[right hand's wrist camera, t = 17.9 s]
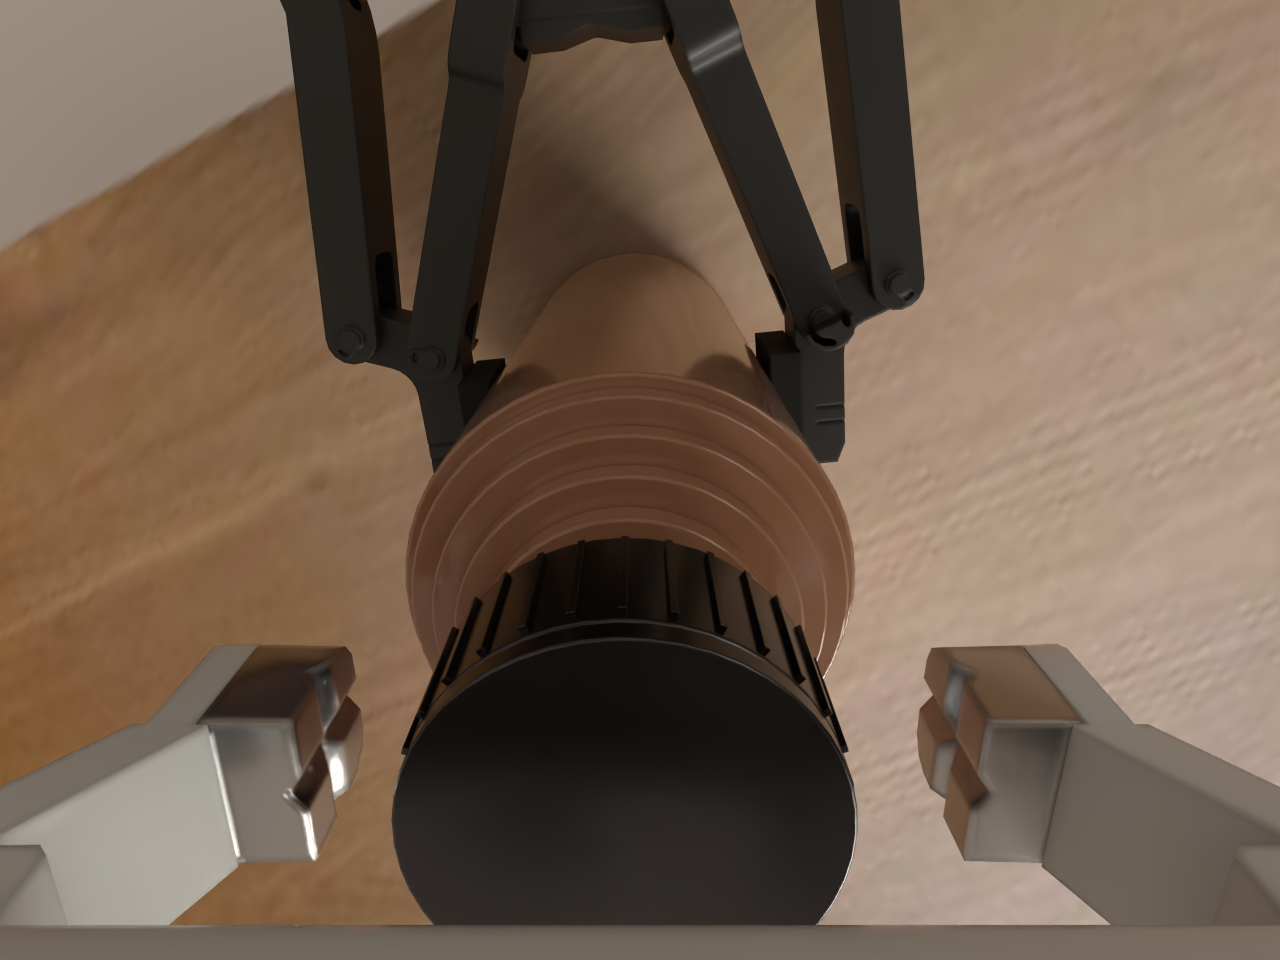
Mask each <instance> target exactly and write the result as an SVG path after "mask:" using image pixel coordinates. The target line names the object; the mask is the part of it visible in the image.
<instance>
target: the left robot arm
mask: <svg viewBox="0 0 1280 960" xmlns="http://www.w3.org/2000/svg"><path fill="white" fill-rule="evenodd" d="M280 1H281V3H282V6H283V8H284V10H285V12H286V17H287V25H288V33H289V42H290V50H291V58H292V66H293V75H294V83H295V91H296V99H297V107H298V115H299V124H300V132H301V140H302V148H303V156H304V165H305V173H306V181H307V189H308V197H309V206H310V214H311V222H312V230H313V238H314V246H315V255H316V263H317V271H318V279H319V287H320V296H321V304H322V312H323V320H324V328H325V337H326V341H327V345H328V348H329V350H330V351H331V352H332V353H333V355H334V356H335V357H336V358H338V359H339V360H341V361H342V362H344V363H349V364H359V363H363V362H368V363H372V364H376V365H380V366H385V367H389V368H392V369H395V370H398V371H400V372H402V373H403V374H405V375H406V376H407V377H408V378H409V379H410V380H411V381H412V382H413V384H414V385H415V387H416V389H417V392H418V395H419V400H420V405H421V410H422V415H423V420H424V425H425V430H426V435H427V440H428V444H429V450H430V455H431V459H432V465H433V470H434V473H435V472H436V470H437V469H438V467H439V466H440V464H441V463H442V461H443V460H444V458H445V457H446V455H447V454H448V452H449V451H450V449H451V448H452V446H453V445H454V443H455V442H456V440H457V439H458V437H459V436H460V434H461V433H462V431H463V430H464V428H465V427H466V425H467V424H468V422H469V420H470V419H471V417H472V416H473V414H474V413H475V411H476V410H477V408H478V407H479V405H480V404H481V402H482V401H483V399H484V398H485V396H486V395H487V393H488V392H489V390H490V389H491V387H492V386H493V384H494V383H495V381H496V380H497V378H498V377H499V375H500V374H501V372H502V371H503V369H504V368H505V366H506V364H505V358H501V359H491V360H480V361H477V362H476V363H475V364H474V362H473V356H472V350H473V349H474V348H475V347H476V345H477V342H478V340H479V339H475V335H476V330H477V325H478V319H479V314H480V309H481V303H482V298H483V293H484V287H485V282H486V277H487V271H488V266H489V261H490V255H491V250H492V245H493V239H494V234H495V229H496V223H497V218H498V213H499V207H500V202H501V197H502V191H503V186H504V181H505V175H506V170H507V165H508V159H509V154H510V149H511V143H512V138H513V133H514V127H515V122H516V117H517V111H518V106H519V102H520V99H521V96H522V94H523V91H524V88H525V84H526V79H527V74H528V68H529V63H530V58H531V53H532V54H539V53H548V52H557V51H565V50H567V49H569V48H572V47H574V46H576V45H579V44H581V43H583V42H586V41H588V40H590V39H593V38H604V39H610V40H615V41H621V42H626V43H638V42H647V41H656V40H663V35H664V37H665V39H666V42H667V44H668V46H669V49H670V51H671V53H672V56H673V58H674V61H675V63H676V65H677V67H678V70H679V72H680V74H681V76H682V77H683V79H684V81H685V83H686V85H687V87H688V90H689V92H690V94H691V97H692V99H693V101H694V104H695V106H696V109H697V111H698V113H699V116H700V118H701V120H702V123H703V125H704V128H705V130H706V132H707V135H708V137H709V139H710V142H711V144H712V147H713V149H714V151H715V154H716V156H717V158H718V161H719V163H720V166H721V168H722V170H723V173H724V175H725V177H726V180H727V182H728V185H729V187H730V189H731V192H732V194H733V196H734V199H735V201H736V204H737V206H738V208H739V211H740V213H741V216H742V218H743V220H744V223H745V225H746V227H747V230H748V232H749V235H750V237H751V239H752V242H753V244H754V246H755V249H756V251H757V254H758V256H759V258H760V261H761V263H762V265H763V268H764V270H765V273H766V275H767V277H768V280H769V282H770V284H771V287H772V289H773V292H774V294H775V296H776V299H777V301H778V303H779V306H780V308H781V311H782V313H783V315H784V317H785V332H784V331H783V330H782V331H772V332H762V333H755V342H756V358H757V360H758V361H759V363H760V365H761V366H762V368H763V370H764V371H765V373H766V375H767V376H768V378H769V380H770V381H771V383H772V385H773V386H774V388H775V390H776V391H777V393H778V395H779V396H780V398H781V400H782V401H783V403H784V405H785V406H786V408H787V410H788V411H789V413H790V415H791V416H792V418H793V420H794V421H795V423H796V425H797V426H798V428H799V430H800V432H801V433H802V435H803V437H804V438H805V440H806V442H807V443H808V445H809V447H810V448H811V450H812V452H813V453H814V455H815V457H816V458H817V460H818V462H819V463H827V462H837V461H838V459H839V456H840V454H841V451H842V449H843V446H844V444H845V422H844V419H845V412H844V346H845V344H847V343H848V341H849V340H850V339H851V337H852V336H853V334H854V330H855V328H856V327H857V326H858V325H859V324H861V323H862V322H864V321H866V320H868V319H870V318H872V317H875V316H877V315H879V314H881V313H883V312H885V311H887V310H890V309H891V310H901V309H904V308H906V307H909V306H911V305H912V304H913V303H914V302H915V301H916V300H917V299H919V297H920V295H921V293H922V291H923V288H924V268H923V257H922V246H921V235H920V224H919V213H918V202H917V191H916V180H915V169H914V158H913V147H912V136H911V125H910V114H909V103H908V92H907V81H906V70H905V59H904V48H903V37H902V26H901V15H900V4H899V0H815V1H816V11H817V19H818V27H819V36H820V44H821V52H822V60H823V68H824V76H825V85H826V93H827V101H828V109H829V117H830V125H831V134H832V142H833V150H834V158H835V166H836V175H837V183H838V191H839V199H840V207H841V215H842V224H843V232H844V240H845V248H846V256H847V263H845V264H843V265H841V266H839V267H837V268H835V269H833V270H831V268H830V266H829V263H828V261H827V258H826V255H825V253H824V250H823V248H822V245H821V243H820V240H819V238H818V235H817V233H816V230H815V227H814V225H813V222H812V220H811V217H810V215H809V212H808V210H807V207H806V205H805V202H804V199H803V197H802V194H801V192H800V189H799V187H798V184H797V182H796V179H795V177H794V174H793V171H792V169H791V166H790V164H789V161H788V159H787V156H786V154H785V151H784V149H783V146H782V143H781V141H780V138H779V136H778V133H777V131H776V128H775V126H774V123H773V121H772V118H771V115H770V113H769V110H768V108H767V105H766V103H765V100H764V98H763V95H762V93H761V90H760V87H759V85H758V82H757V80H756V77H755V75H754V72H753V70H752V67H751V65H750V62H749V59H748V57H747V54H746V52H745V49H744V46H743V42H742V36H741V32H740V28H739V25H738V22H737V19H736V16H735V13H734V11H733V8H732V6H731V3H730V1H729V0H456V6H455V12H454V18H453V25H452V31H451V37H450V44H449V52H448V71H449V84H448V91H447V97H446V104H445V110H444V116H443V122H442V129H441V135H440V141H439V148H438V154H437V160H436V166H435V173H434V179H433V185H432V192H431V198H430V204H429V210H428V217H427V223H426V229H425V236H424V242H423V248H422V254H421V261H420V267H419V273H418V280H417V286H416V292H415V298H414V305H413V311H409V310H405V309H402V307H401V295H400V284H399V273H398V262H397V250H396V239H395V228H394V216H393V205H392V194H391V183H390V171H389V160H388V149H387V137H386V126H385V115H384V104H383V92H382V81H381V70H380V59H379V50H378V43H377V36H376V30H375V26H374V22H373V18H372V14H371V10H370V8H369V5H368V2H367V0H280Z"/></svg>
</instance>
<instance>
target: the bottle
mask: <svg viewBox="0 0 1280 960" xmlns="http://www.w3.org/2000/svg"><path fill="white" fill-rule="evenodd" d="M621 536H629V538H647V539H653V540H660V541H665V540H666V539H667V540H672V541H673V543H676V544H680V545H684V546H687V547H691V548H694V549H698V550H700V551H703V552H705V553H706V552H707V551H710V552H712V553H714V556H715V557H717V558H720V559H722V560H724V561H726V562H727V563H729V564H731V565H733V566H734V567H736V568H738V569H739V570H741V571H744V570H747V571H748V572H750V573H751V576H752V579H754V580H755V581H756V582H758V583H759V584H760V585H762V586H763V587H764V588H765V589H766V590H767V591H768V592H769V593H770V594H771V595H772V596H773V597H774V596H775V595H777V596H778V597H779V598H780V599H781V601H782V604H783V607H784V610H785V611H786V612H787V614H788V615H789V616H790V618H791V619H792V621H793V622H794V624H795V626H798V625H801V626H802V628H803V630H804V633H805V636H806V639H807V641H808V644H809V647H810V650H811V653H812V656H813V658H816V660H817V663H818V665H819V668H820V671H821V674H822V677H823V679H824V678H825V676H826V674H827V672H828V670H829V668H830V666H831V664H832V662H833V661H834V658H835V655H836V652H837V651H838V649H839V646H840V644H841V641H842V638H843V635H844V633H845V630H846V627H847V624H848V621H849V617H850V612H851V607H852V602H853V597H854V583H855V561H854V550H853V542H852V538H851V534H850V529H849V525H848V521H847V517H846V515H845V512H844V510H843V507H842V505H841V502H840V500H839V497H838V495H837V492H836V490H835V489H834V487H833V485H832V484H831V482H830V480H829V479H828V477H827V475H826V473H825V472H824V470H823V468H822V467H821V465H820V463H819V462H818V460H817V458H816V457H815V455H814V453H813V452H812V450H811V448H810V447H809V445H808V443H807V442H806V440H805V438H804V437H803V435H802V433H801V432H800V430H799V428H798V426H797V425H796V423H795V421H794V420H793V418H792V416H791V415H790V413H789V411H788V410H787V408H786V406H785V405H784V403H783V401H782V400H781V398H780V396H779V395H778V393H777V391H776V390H775V388H774V386H773V385H772V383H771V381H770V380H769V378H768V376H767V375H766V373H765V371H764V370H763V368H762V366H761V365H760V363H759V361H758V360H757V358H756V356H755V355H754V353H753V351H752V350H751V348H750V346H749V345H748V343H747V341H746V340H745V338H744V336H743V335H742V333H741V331H740V330H739V328H738V326H737V325H736V323H735V321H734V320H733V318H732V316H731V315H730V313H729V311H728V309H727V308H726V306H725V304H724V303H723V301H722V299H721V298H720V297H719V295H718V294H717V293H716V291H715V290H714V289H713V288H712V287H711V286H710V285H709V284H708V283H707V282H706V281H705V280H704V279H703V278H702V277H701V276H699V275H698V274H697V273H695V272H694V271H693V270H691V269H689V268H688V267H686V266H684V265H682V264H680V263H678V262H676V261H673V260H671V259H668V258H665V257H661V256H656V255H652V254H641V253H631V254H620V255H615V256H610V257H607V258H603V259H600V260H597V261H595V262H593V263H591V264H589V265H587V266H585V267H583V268H582V269H580V270H579V271H577V272H576V273H574V274H573V275H572V276H570V277H569V278H568V279H567V280H566V281H565V282H563V283H562V285H561V286H560V287H559V288H558V289H557V290H556V291H555V293H554V294H553V295H552V297H551V298H550V300H549V301H548V303H547V304H546V306H545V307H544V309H543V310H542V312H541V313H540V315H539V316H538V318H537V320H536V321H535V323H534V324H533V326H532V327H531V329H530V330H529V332H528V333H527V335H526V336H525V338H524V339H523V341H522V342H521V344H520V345H519V347H518V348H517V350H516V351H515V353H514V354H513V356H512V357H511V359H510V360H509V362H508V363H507V365H506V366H505V368H504V369H503V371H502V372H501V374H500V375H499V377H498V378H497V380H496V381H495V383H494V384H493V386H492V387H491V389H490V390H489V392H488V393H487V395H486V396H485V398H484V399H483V401H482V402H481V404H480V405H479V407H478V408H477V410H476V411H475V413H474V414H473V416H472V417H471V419H470V420H469V422H468V424H467V425H466V427H465V428H464V430H463V431H462V433H461V434H460V436H459V437H458V439H457V440H456V442H455V443H454V445H453V446H452V448H451V449H450V451H449V452H448V454H447V455H446V457H445V458H444V460H443V461H442V463H441V464H440V466H439V467H438V469H437V470H436V472H435V473H434V475H433V476H432V478H431V479H430V481H429V483H428V485H427V487H426V489H425V491H424V493H423V496H422V498H421V500H420V502H419V504H418V506H417V509H416V513H415V516H414V519H413V523H412V526H411V529H410V533H409V540H408V547H407V554H406V589H407V595H408V602H409V608H410V613H411V616H412V619H413V623H414V626H415V629H416V633H417V636H418V638H419V641H420V643H421V646H422V649H423V652H424V654H425V656H426V658H427V660H428V662H429V665H430V667H431V669H432V671H433V672H434V669H435V667H436V664H437V662H438V660H439V657H440V655H441V652H442V650H443V647H444V645H445V642H446V640H447V637H448V635H449V633H450V630H451V629H452V627H455V628H458V627H459V625H460V623H461V622H462V620H463V619H464V617H465V615H466V614H467V611H468V609H469V606H470V604H471V601H472V600H473V599H474V598H475V597H478V598H480V597H481V596H482V595H483V594H484V593H485V592H486V591H487V590H488V589H490V588H491V587H492V586H493V585H494V584H495V583H496V582H497V581H499V579H500V576H501V574H502V573H504V572H505V571H507V572H508V573H510V572H512V571H513V570H515V569H516V568H518V567H519V566H520V565H522V564H524V563H527V562H529V561H531V560H533V559H535V558H536V556H537V554H539V553H541V552H544V553H548V552H551V551H554V550H557V549H560V548H563V547H566V546H569V545H573V544H578V541H581V540H585V541H586V542H587V541H592V540H600V539H611V538H621Z"/></svg>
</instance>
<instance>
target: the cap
mask: <svg viewBox="0 0 1280 960" xmlns="http://www.w3.org/2000/svg"><path fill="white" fill-rule="evenodd" d="M846 752H848V747H847V744H846V741H845V738H844V736H843V733H842V730H841V727H840V724H839V722H838V719H837V716H836V713H835V710H834V708H833V705H832V702H831V699H830V696H829V693H828V691H827V688H826V685H825V682H824V679H823V677H822V674H821V671H820V668H819V665H818V663H817V660H816V658H813V656H812V653H811V650H810V647H809V644H808V641H807V639H806V636H805V633H804V630H803V628H802V626H801V625H798V626H795V624H794V622H793V621H792V619H791V618H790V616H789V615H788V614H787V612H786V611H785V610H784V607H783V604H782V601H781V599H780V598H779V597H778V596H777V595H775V596H774V597H773V596H772V595H771V594H770V593H769V592H768V591H767V590H766V589H765V588H764V587H763V586H762V585H760V584H759V583H758V582H756V581H755V580H754V579H752V576H751V573H750V572H748V571H747V570H744V571H741V570H739V569H738V568H736V567H734V566H733V565H731V564H729V563H727V562H726V561H724V560H722V559H720V558H717V557H715V556H714V553H712V552H710V551H707V552H706V553H705V552H703V551H700V550H698V549H694V548H691V547H687V546H684V545H680V544H676V543H673V541H672V540H667V539H666V540H665V541H660V540H653V539H647V538H629V536H621V538H611V539H600V540H592V541H587V542H586V541H585V540H581V541H578V544H573V545H569V546H566V547H563V548H560V549H557V550H554V551H551V552H548V553H544V552H541V553H539V554H537V556H536V558H535V559H533V560H531V561H529V562H527V563H524V564H522V565H520V566H519V567H518V568H516V569H515V570H513V571H512V572H510V573H508V572H507V571H505V572H504V573H502V574H501V576H500V579H499V581H497V582H496V583H495V584H494V585H493V586H492V587H491V588H490V589H488V590H487V591H486V592H485V593H484V594H483V595H482V596H481V597H480V598H478V597H475V598H474V599H473V600H472V601H471V604H470V606H469V609H468V611H467V614H466V615H465V617H464V619H463V620H462V622H461V623H460V625H459V627H458V628H455V627H452V629H451V630H450V633H449V635H448V637H447V640H446V642H445V645H444V647H443V650H442V652H441V655H440V657H439V660H438V662H437V664H436V667H435V669H434V672H433V674H432V677H431V679H430V681H429V684H428V686H427V689H426V691H425V694H424V696H423V699H422V701H421V704H420V706H419V708H418V711H417V713H416V716H415V718H414V721H413V723H412V726H411V728H410V731H409V733H408V736H407V738H406V740H405V743H404V745H403V748H402V752H401V754H403V755H406V756H405V758H404V761H403V763H402V766H401V769H400V771H399V775H398V779H397V783H396V787H395V791H394V795H393V808H392V828H393V839H394V846H395V850H396V854H397V858H398V862H399V866H400V869H401V871H402V874H403V876H404V878H405V881H406V883H407V885H408V887H409V890H410V892H411V893H412V895H413V896H414V898H415V900H416V901H417V903H418V904H419V906H420V908H421V909H422V911H423V912H424V913H425V915H426V916H427V917H428V918H429V919H430V921H431V922H432V923H433V924H434V925H818V923H819V922H820V921H821V920H822V919H823V917H824V916H825V914H826V913H827V911H828V910H829V909H830V907H831V906H832V904H833V903H834V902H835V900H836V898H837V896H838V894H839V892H840V890H841V888H842V886H843V884H844V882H845V880H846V877H847V874H848V871H849V868H850V865H851V862H852V859H853V856H854V850H855V843H856V837H857V803H856V798H855V792H854V783H853V780H852V777H851V774H850V771H849V768H848V766H847V763H846V760H845V757H844V754H843V753H846Z"/></svg>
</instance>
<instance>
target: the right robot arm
mask: <svg viewBox="0 0 1280 960" xmlns="http://www.w3.org/2000/svg"><path fill="white" fill-rule="evenodd" d="M355 679H356V675H355V670H354V664H353V659H352V654H351V653H350V652H349V650H348V649H347V648H346V647H345V646H297V645H264V646H262V645H260V644H247V645H222V646H217V647H214V648H213V649H212V650H211V651H210V653H209V654H208V655H207V656H206V657H205V658H204V659H203V660H202V662H201V663H200V664H199V665H198V666H197V667H196V668H195V669H194V670H193V672H192V673H191V674H190V675H189V676H188V677H187V678H186V679H185V681H184V682H183V683H182V684H181V685H180V686H179V687H178V688H177V689H176V691H175V692H174V693H173V694H172V695H171V696H170V697H169V698H168V700H167V701H166V702H165V703H164V704H163V705H162V706H161V707H160V708H159V710H158V711H157V712H156V713H155V714H154V715H153V716H152V717H151V719H150V720H149V721H148V722H147V723H146V724H137V725H129V726H127V727H125V728H123V729H121V730H119V731H117V732H115V733H113V734H110V735H108V736H106V737H104V738H102V739H100V740H98V741H96V742H94V743H92V744H89V745H87V746H85V747H83V748H81V749H79V750H77V751H75V752H73V753H71V754H68V755H66V756H64V757H62V758H60V759H58V760H56V761H54V762H52V763H49V764H47V765H45V766H43V767H41V768H39V769H37V770H35V771H33V772H31V773H28V774H26V775H24V776H22V777H20V778H18V779H16V780H14V781H12V782H10V783H7V784H5V785H3V786H1V787H0V960H1280V787H1279V786H1276V785H1274V784H1272V783H1270V782H1268V781H1266V780H1264V779H1262V778H1260V777H1258V776H1255V775H1253V774H1251V773H1249V772H1247V771H1245V770H1243V769H1241V768H1239V767H1237V766H1234V765H1232V764H1230V763H1228V762H1226V761H1224V760H1222V759H1220V758H1218V757H1216V756H1213V755H1211V754H1209V753H1207V752H1205V751H1203V750H1201V749H1199V748H1197V747H1195V746H1193V745H1190V744H1188V743H1186V742H1184V741H1182V740H1180V739H1178V738H1176V737H1174V736H1172V735H1169V734H1167V733H1165V732H1163V731H1161V730H1159V729H1157V728H1155V727H1153V726H1151V725H1144V724H1134V723H1133V722H1132V721H1131V720H1130V719H1129V717H1128V716H1127V715H1126V714H1125V713H1124V712H1123V711H1122V710H1121V709H1120V707H1119V706H1118V705H1117V704H1116V703H1115V702H1114V701H1113V700H1112V698H1111V697H1110V696H1109V695H1108V694H1107V693H1106V692H1105V691H1104V689H1103V688H1102V687H1101V686H1100V685H1099V684H1098V683H1097V682H1096V681H1095V679H1094V678H1093V677H1092V676H1091V675H1090V674H1089V673H1088V672H1087V670H1086V669H1085V668H1084V667H1083V666H1082V665H1081V664H1080V663H1079V662H1078V660H1077V659H1076V658H1075V657H1074V656H1073V655H1072V654H1071V653H1070V651H1069V650H1068V649H1067V648H1065V647H1063V646H1060V645H1058V644H1042V645H1016V646H981V647H941V648H932V649H931V651H930V653H929V656H928V658H927V662H926V669H925V675H924V679H925V681H926V682H927V684H928V686H929V688H930V690H931V692H932V694H933V696H932V697H931V698H930V699H929V700H928V701H927V702H926V703H925V704H924V705H923V706H922V707H921V708H920V711H919V720H918V730H917V738H918V750H919V758H920V762H921V766H922V769H923V773H924V775H925V777H926V780H927V782H928V784H929V787H930V788H931V789H932V790H933V791H935V792H936V793H938V794H939V795H941V796H942V797H943V798H945V799H946V802H945V808H944V815H943V817H944V819H945V821H946V823H947V825H948V827H949V829H950V831H951V833H952V836H953V838H954V840H955V842H956V844H957V846H958V848H959V850H960V852H961V854H962V857H963V859H964V861H993V862H1029V863H1042V867H1043V868H1044V869H1045V870H1047V871H1048V872H1049V873H1050V874H1051V875H1053V876H1054V877H1055V878H1056V879H1057V880H1059V881H1060V882H1061V883H1062V884H1063V885H1065V886H1066V887H1067V888H1068V889H1069V890H1071V891H1072V892H1073V893H1074V894H1075V895H1076V896H1078V897H1079V898H1080V899H1081V900H1082V901H1084V902H1085V903H1086V904H1087V905H1088V906H1090V907H1091V908H1092V909H1093V910H1094V911H1096V912H1097V913H1098V914H1099V915H1100V916H1102V917H1103V918H1104V919H1105V920H1106V921H1108V922H1109V923H1110V924H1111V925H169V924H170V923H172V922H173V921H174V920H175V919H176V918H177V917H179V916H180V915H181V914H182V913H183V912H185V911H186V910H187V909H188V908H189V907H191V906H192V905H193V904H194V903H195V902H197V901H198V900H199V899H200V898H201V897H203V896H204V895H205V894H206V893H207V892H209V891H210V890H211V889H212V888H213V887H215V886H216V885H217V884H218V883H219V882H221V881H222V880H223V879H224V878H225V877H227V876H228V875H229V874H230V873H231V872H233V871H234V870H235V869H236V868H237V867H238V863H251V862H286V861H316V859H317V857H318V855H319V853H320V850H321V848H322V846H323V844H324V842H325V840H326V838H327V836H328V834H329V831H330V829H331V827H332V825H333V823H334V821H335V819H336V817H337V815H336V809H335V802H334V799H335V798H337V797H338V796H339V795H341V794H342V793H344V792H345V791H347V790H348V789H349V788H350V786H351V784H352V782H353V780H354V777H355V775H356V773H357V770H358V766H359V761H360V756H361V751H362V733H363V726H362V718H361V710H360V708H359V707H358V706H357V705H356V704H355V703H354V702H353V701H352V700H351V699H350V698H349V697H348V696H347V694H348V692H349V690H350V688H351V686H352V684H353V682H354V681H355Z"/></svg>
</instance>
